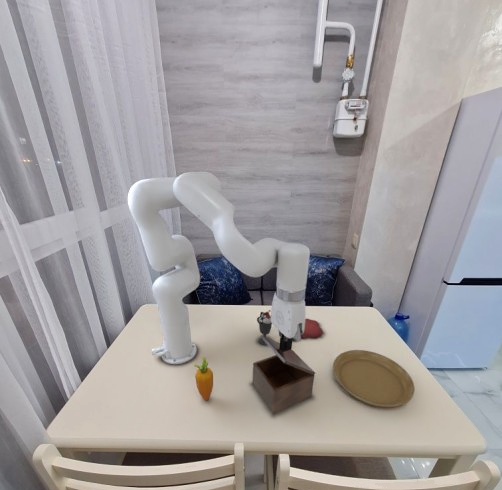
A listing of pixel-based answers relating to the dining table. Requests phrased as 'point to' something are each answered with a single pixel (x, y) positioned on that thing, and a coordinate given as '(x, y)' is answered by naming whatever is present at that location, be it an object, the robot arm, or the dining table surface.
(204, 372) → the carrot
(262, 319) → the sundae
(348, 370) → the plant saucer
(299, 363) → the brown box lid
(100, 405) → the dining table surface
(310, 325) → the patty
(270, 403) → the container
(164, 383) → the dining table surface
